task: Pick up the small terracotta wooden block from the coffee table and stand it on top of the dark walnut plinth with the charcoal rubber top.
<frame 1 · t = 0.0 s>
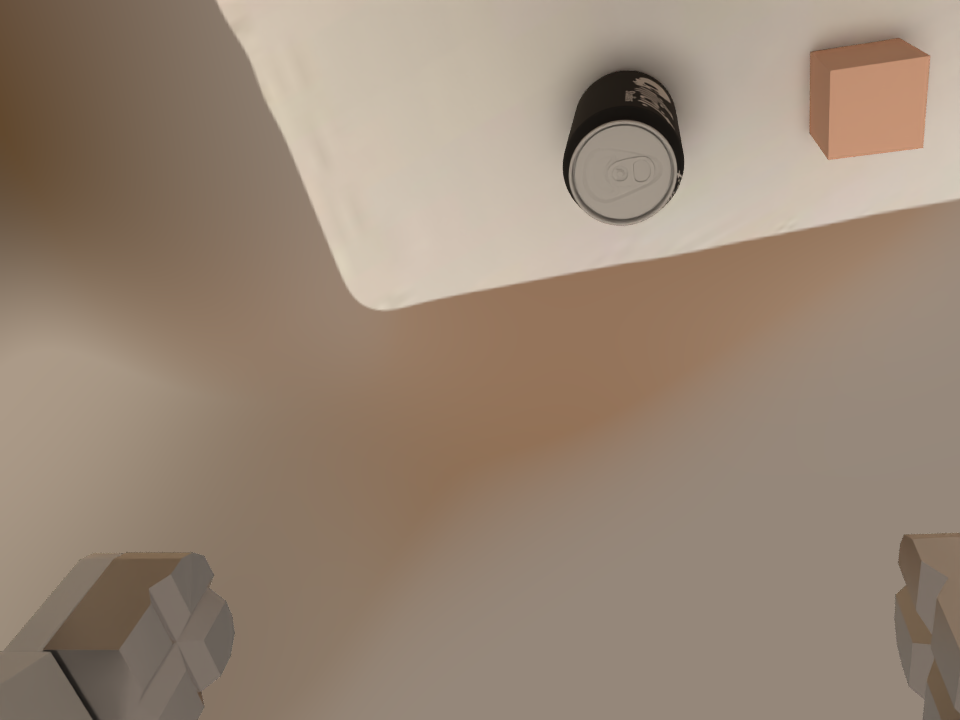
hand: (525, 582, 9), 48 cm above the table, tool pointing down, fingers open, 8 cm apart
beverage can: (624, 119, 53), on the table
terracotta block: (852, 87, 50), on the table
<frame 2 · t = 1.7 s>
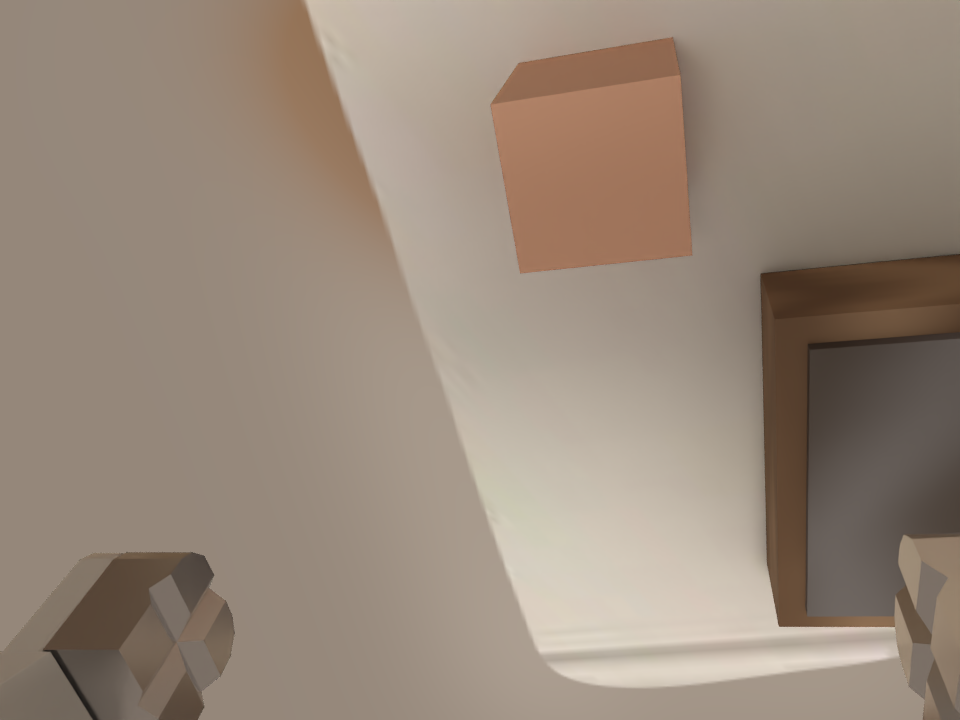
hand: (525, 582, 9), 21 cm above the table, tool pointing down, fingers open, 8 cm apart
terracotta block: (602, 126, 28), on the table
walnut plinth: (957, 422, 31), on the table
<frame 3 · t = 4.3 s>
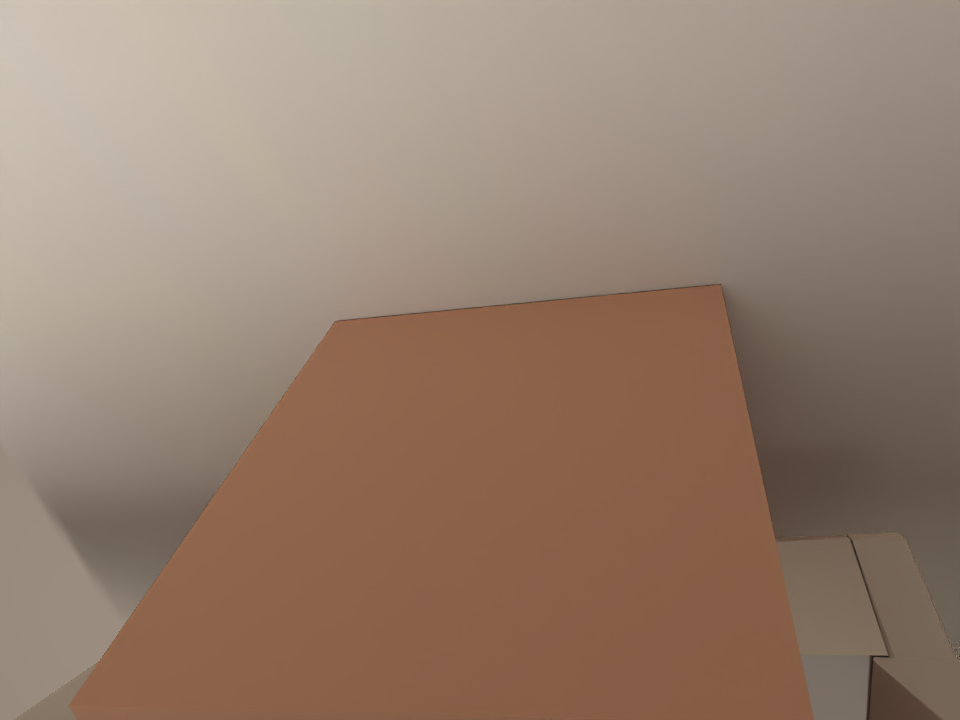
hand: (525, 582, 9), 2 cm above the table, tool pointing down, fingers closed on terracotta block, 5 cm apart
terracotta block: (545, 461, 11), on the table, touching gripper
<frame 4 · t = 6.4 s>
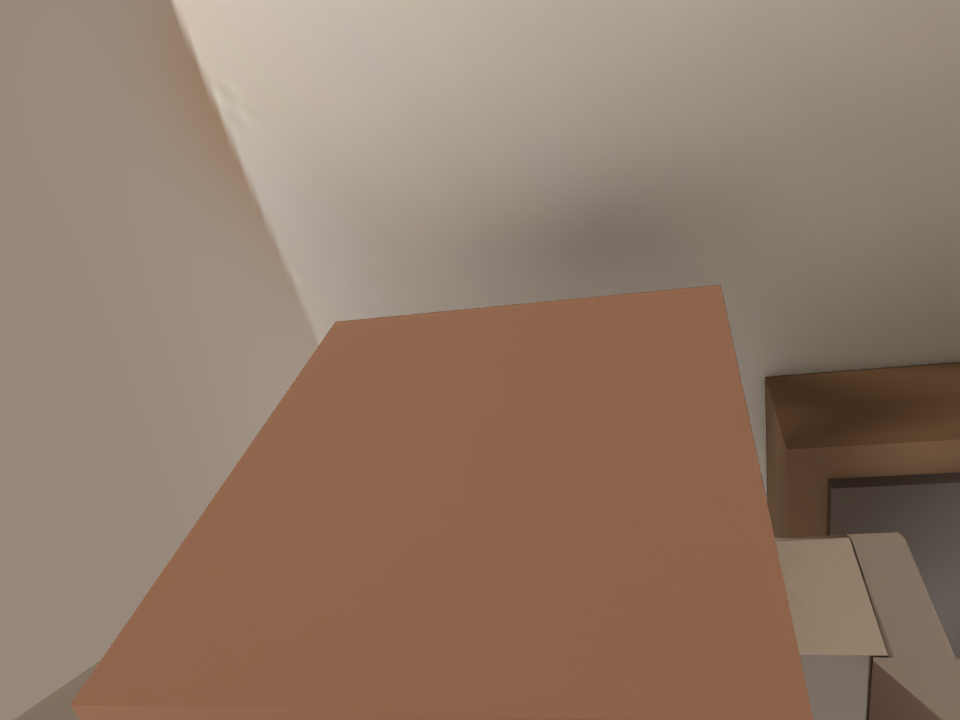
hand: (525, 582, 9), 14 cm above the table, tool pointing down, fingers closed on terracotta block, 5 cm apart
terracotta block: (545, 461, 11), point 12 cm above the table, touching gripper
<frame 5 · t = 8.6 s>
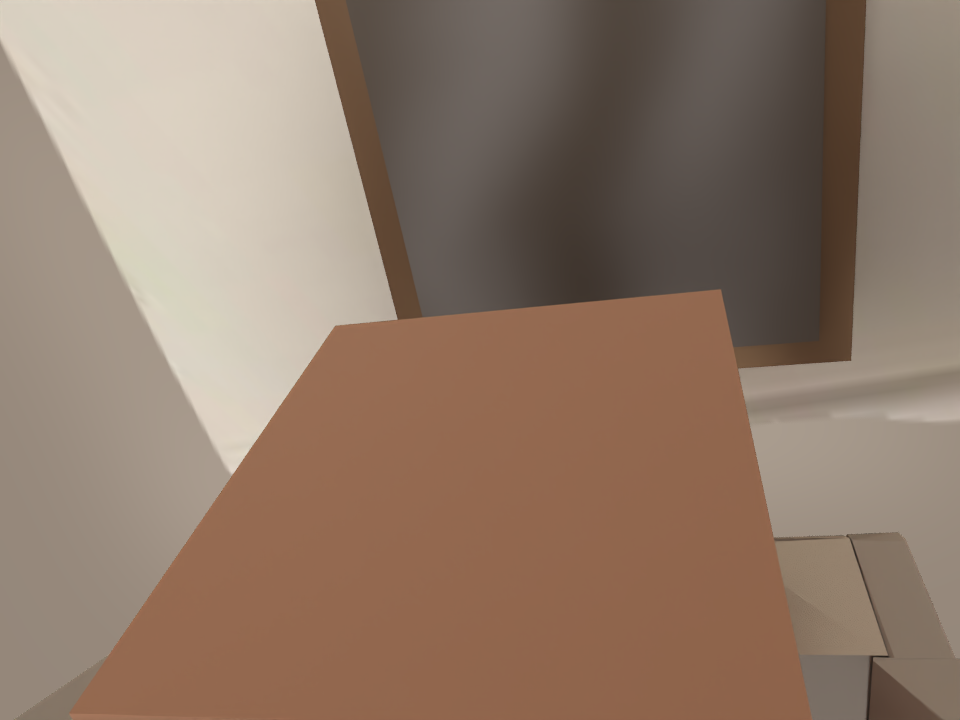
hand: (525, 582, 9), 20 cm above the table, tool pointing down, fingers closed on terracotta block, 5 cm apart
terracotta block: (545, 465, 11), point 17 cm above the table, touching gripper
walnut plinth: (600, 133, 26), on the table
when the fingers open (8 cm above the table, at t = 10.5 s): terracotta block drops 2 cm, resting on walnut plinth.
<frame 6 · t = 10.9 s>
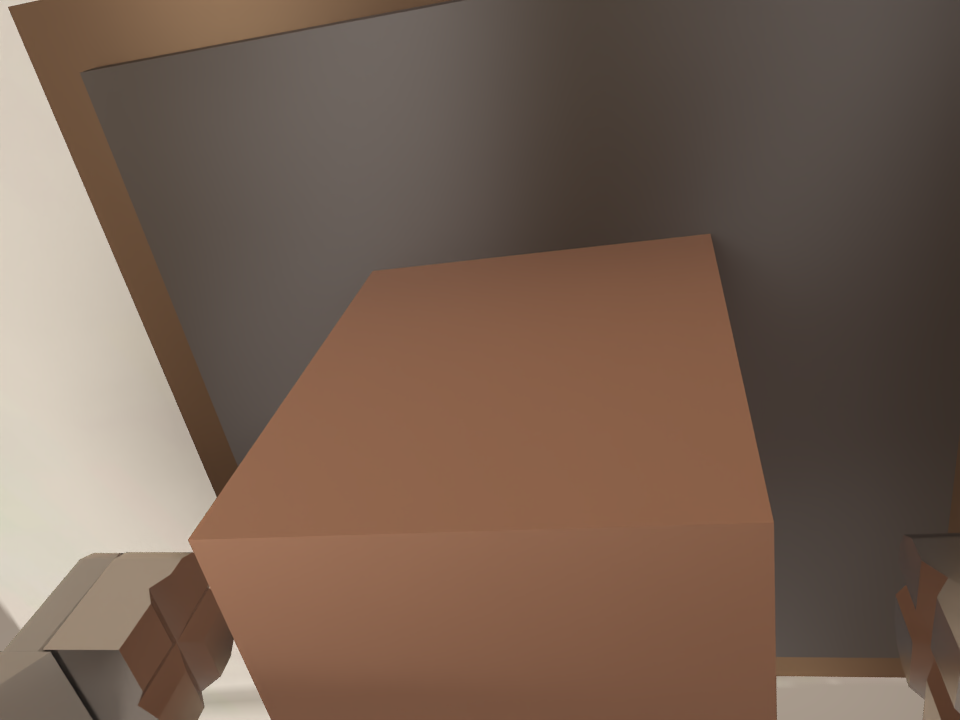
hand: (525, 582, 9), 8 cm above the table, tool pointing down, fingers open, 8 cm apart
terracotta block: (556, 397, 13), point 4 cm above the table, touching walnut plinth
walnut plinth: (570, 291, 16), on the table
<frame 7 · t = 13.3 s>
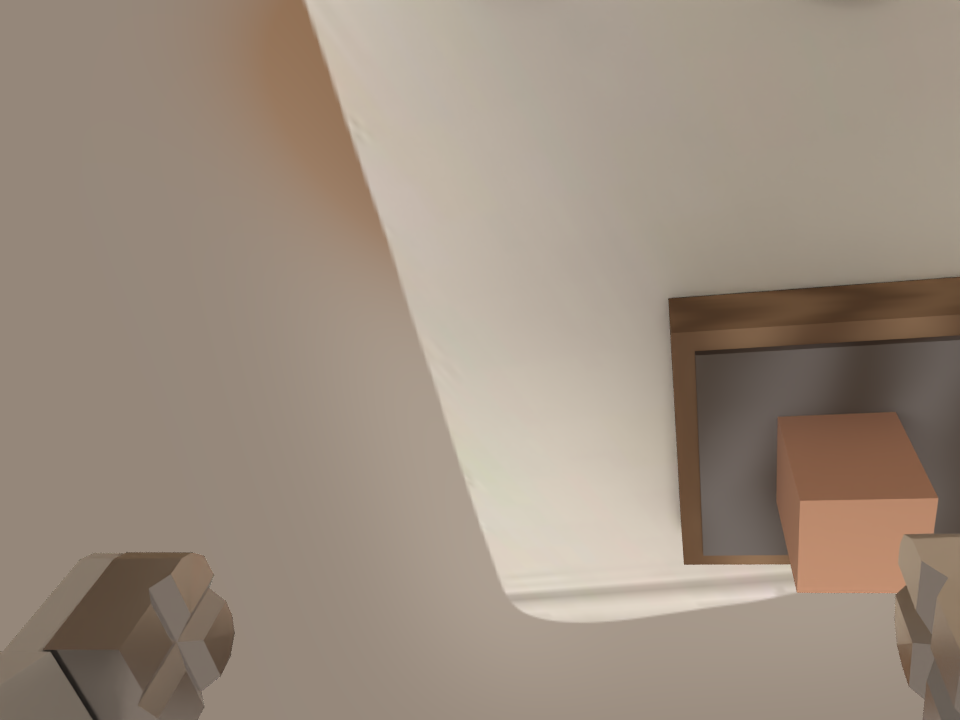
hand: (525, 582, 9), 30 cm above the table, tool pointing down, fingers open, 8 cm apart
terracotta block: (833, 458, 38), point 4 cm above the table, touching walnut plinth
walnut plinth: (815, 411, 41), on the table
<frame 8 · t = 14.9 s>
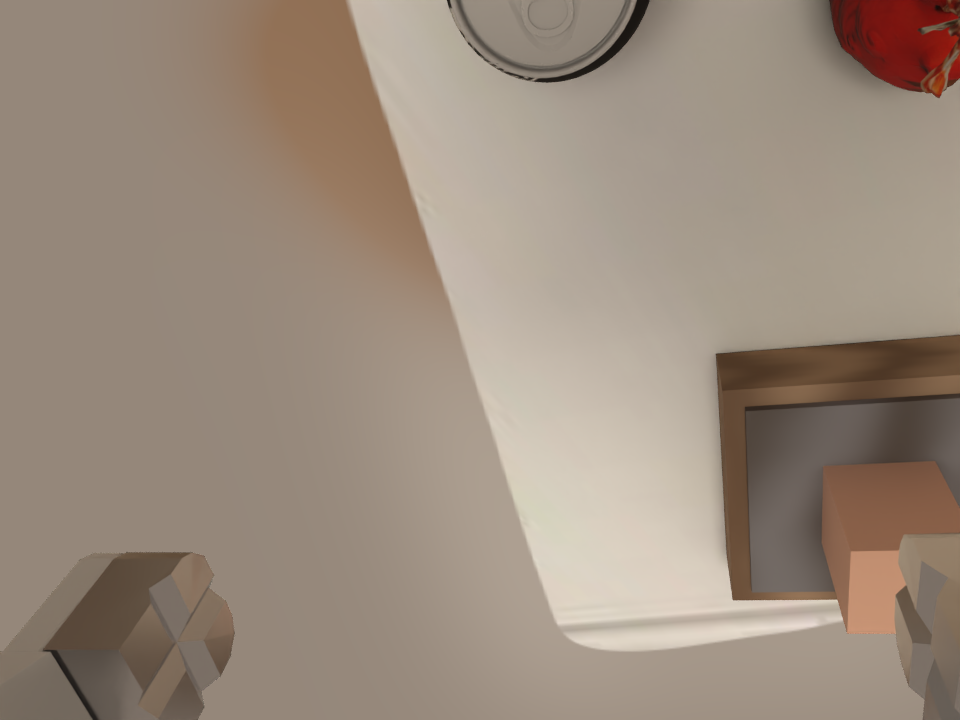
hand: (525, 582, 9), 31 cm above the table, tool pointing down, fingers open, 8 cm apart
terracotta block: (875, 503, 40), point 4 cm above the table, touching walnut plinth
walnut plinth: (856, 455, 44), on the table
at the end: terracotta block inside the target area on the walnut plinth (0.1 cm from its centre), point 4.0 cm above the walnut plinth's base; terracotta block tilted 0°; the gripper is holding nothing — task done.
